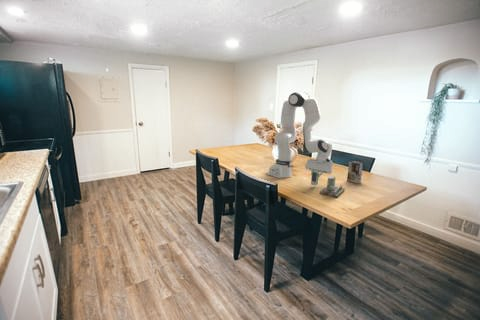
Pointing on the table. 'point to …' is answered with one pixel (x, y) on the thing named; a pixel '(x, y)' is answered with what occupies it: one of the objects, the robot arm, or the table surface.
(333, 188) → the rail base
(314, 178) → the block
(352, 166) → the coffee box
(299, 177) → the table surface
